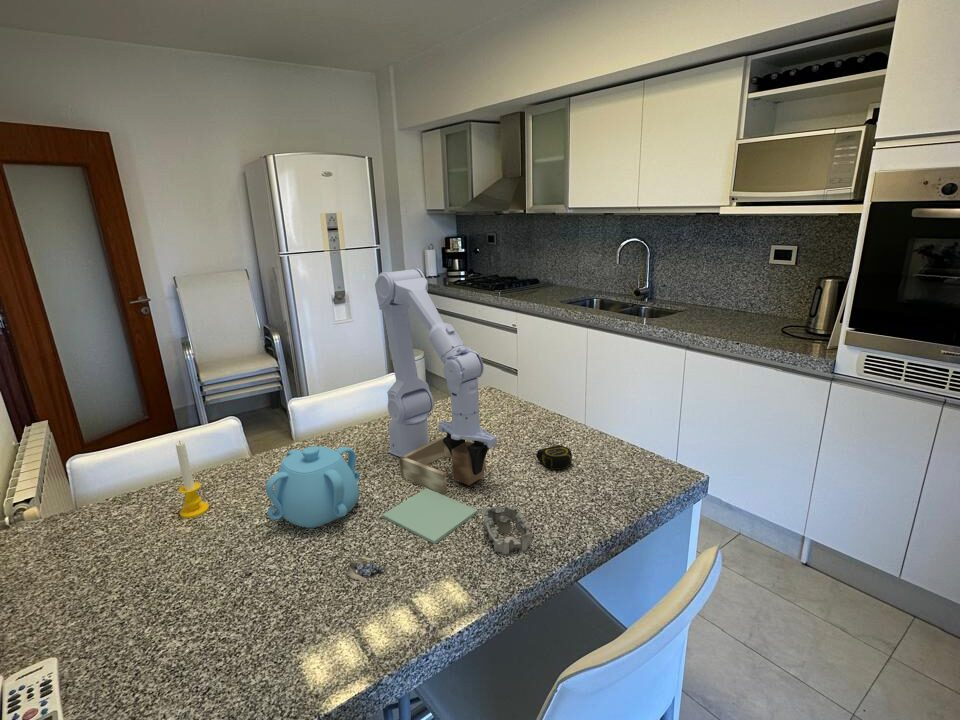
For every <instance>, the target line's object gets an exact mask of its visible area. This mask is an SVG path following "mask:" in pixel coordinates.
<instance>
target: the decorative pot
mask: <svg viewBox="0 0 960 720" xmlns="http://www.w3.org/2000/svg"><path fill="white" fill-rule="evenodd" d="M345 453H348V462H346V460H345V458H344V457H343V454H345ZM356 462H357V455H356V452H355V450H354V449H352V448H351V447H349V446H341V447H339V448H337V449H336V450H335V449H333V448H329V447H326V446H318V445H317V446H307V447H305V448H303V449H301V450H299V449H297V448H294V449H290V450H289V451H288V452H286V454H285V457H284V459H282V460H281V463H280V465H279V468H278V469H277V470H278V471H277V472H276V473H275V474H273V475H271V476H270V477H269V479H267V482H266V485H265V492H266V495H267V496H268V499H269V500H270V502H272V504H273V505H271V506H270V507H269V508H268V509H267V517H268V518H269V519H270V520H274V521H277V520H280V519H282V518H284V519H285V520H286V521H288V522H289V523H291V524H293V525H296V526H299V527H302V528H303V527H304V528H306V529H309V530H312V529H315V528H318V527H320V526H323V525H326V524H329V523H330V522H333V521H335V520H337V519H339V518H342V517H345V516H346V515H347V514H348V513H350V512H351V511H352V509H353V508H354V507H355V505H356V503H357V502H358V499H359V496H360V490H359V486H358V485H359V484H358V482H359V481H360V478H361V477H360V476H361V475H360V472H359V471H358V470H356V469H355V468H356V467H355V466H356ZM275 510H276V512H275V513H274V511H275Z"/></svg>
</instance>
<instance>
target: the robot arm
mask: <svg viewBox="0 0 960 720" xmlns="http://www.w3.org/2000/svg"><path fill="white" fill-rule="evenodd" d="M374 287H375V289H374V290H375V293H376V298H377V303H378V307H379V310H381V311H382V314H383V318H384V324H385V328H386V334H387V339H388V344H389V350H390V355H391V361H392V366H393V371H394V375H395V382H394V383H393V384H392V385H391V386H390V388H388V391H386V392H387V411H388V413H389V417H390V418H391V419H390V421H389V424H388V433H389V435H388V436H389V445H390V449H388V450H387V452H388V453H389V454H392V455H394V456H397V457H399V458H400V457H402V456H404V455H406V454H408V453H410V452H412V451H414V450H416V449H418V448H420V447H422V446H424V445H426V444H428V443H430V441H429V440H430V437H429V435H430V434H429V425H428V422H429V421H428V418H429V417H430V415H431V414H430V413H431V412H432V411H433V409H434V407H435V406H434V405H435V402H434V401H435V400H434V397H433V394H432V393H431V391H430V386H429V383H427V381H425V380H423V379H421V378H420V377H419V375H418V370H417V369H418V368H417V362H416V358H415V353H414V348H413V347H414V346H413V341H412V335H411V330H410V325H409V320H408V315H407V313H408V311H409V309H410V307H411V309H412V310H413V311H414V313H415V314H416V315H417V317H418V318H419V319H420V321H421V322H422V323H423V325H424V326H425V328H426V329H427V330H428V331H429V333H428V342H429V344H431V346H432V347H433V349H434V351H435V352H436V353H437V356H438V357H439V359H440V360H441V362H442V364H443V368H442V373H443V376H444V378H445V381H446V383H447V385H446V386H447V389H448V392H450V403H451V421H446V420H444V421H440V422H439V423H438V425H437V427H438V432H439V433H441V434H442V433H445V434H446V436H445V438H443V442H444V444H445V445H446V446H447V448H448V450H449V452H450V454H451V456H452V449H453V448H455V447H457V446H459V445H461V444H463V443H464V442H466V441H472V442H473V443H474V444H471V445H469V446H467V449H468V451H469V454H470V457H471V461H472V470H473V474H474V475H477V474H479V473H480V472H482V468H483V463H484V459H485V457H486V456H487V455H488V452H489V449H493V448H494V447H496V446H497V445H498V438H497V436H496V435H494V434H491V433H490V432H488V431H486V430H485V429H484V428H482V427H481V424H480V423H481V420H480V397H479V394H480V393H479V378H480V377H482V375H483V373H484V362H483V358H481V356H480V354H479V353H478V352H477V351H475V350H473V349H471V347H469V346H466V344H465V343H464V342H463V340H462V339H461V337H460V336H459V334H458V332H457V331H456V330H455V327H454V326H453V325H452V324H451V323H446V322H444V320H443V319H442V317H441V315H440V312H439V311H438V309H437V308H436V306H435V304H434V301H433V300H432V298H431V296H430V295H429V293H428V290H429V282H428V279H426V276H425V275H424V273H423V271H422V270H421V269H420V268H412V269H405V270H396V271H389V272H387V271H383V272H380V273H379V274H378V276H377V279H376V281H375V283H374Z"/></svg>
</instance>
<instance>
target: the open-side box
mask: <svg viewBox="0 0 960 720" xmlns="http://www.w3.org/2000/svg"><path fill="white" fill-rule="evenodd" d="M445 437H446V436H444V435H442V436H440V437H438V438H436V439H434V440H432V441H429V443H428V444H426V445H424V446H422V447H420V448H418V449H416V450H414V451H412V452H410V453H408V454H406V455H404V456H402V457H399V458H398V459H399V460H398V461H399V469H400V477H401V478H404V479H405V480H409V481H410V482H414V483H415V484H418V485H421V486H423V487H425V488H427V489H430V490H432V491H434V492H437V493H439V494H441V495H445V494H447V493H448V489H447V487H448V486H447V485H448V484H447V473H446V472H444V471H441V470H440V469H437V468H434V467H431V466H429V464H432V463H433V462H436V461H437V460H439V459H441V458H442V457H444V456H445V457H447V458H450V459H452V456H451V454H450V452H449V450H448V448H447V446H446V445H445V444H444V442H443V438H445ZM486 460H487V459H486V456H485V459H484V470H485V469H486V468H487V463H486Z"/></svg>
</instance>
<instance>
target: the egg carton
mask: <svg viewBox="0 0 960 720" xmlns="http://www.w3.org/2000/svg"><path fill="white" fill-rule="evenodd" d="M482 518H483V524H484V525H483V527H484V529H485V530H487V531H488V538H489V541H493V550H494V552H495V553H496V552H500V553H501V554H503V555H508V554H510V552H511V550H513V549H519V550H521V551H523V552H524V551H528V547H530V546H531V544H532V534H533V529H532V527H531V524H530V523H529V522H528V520H527V519H526V517H525V515H524V514H523V513H522V512H521V511H519V510H518V507H516V506H515V505H512V506H511V507H507V505H504V506H492V507H490V508H489V507H482ZM511 521H515V523H514V524H515V529H517V530H518V531H520V535H521V536H520V538H515V537H514V536H506V537H505V538H504V539H503V540H502V539H501V538H499V533H501V534H503V535H507V534H509V533H510V532H511V531H512V530H511V528H512V527H511V526H512V525H511V523H512V522H511ZM494 524H497V528H498V529H497V528H494Z"/></svg>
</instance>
